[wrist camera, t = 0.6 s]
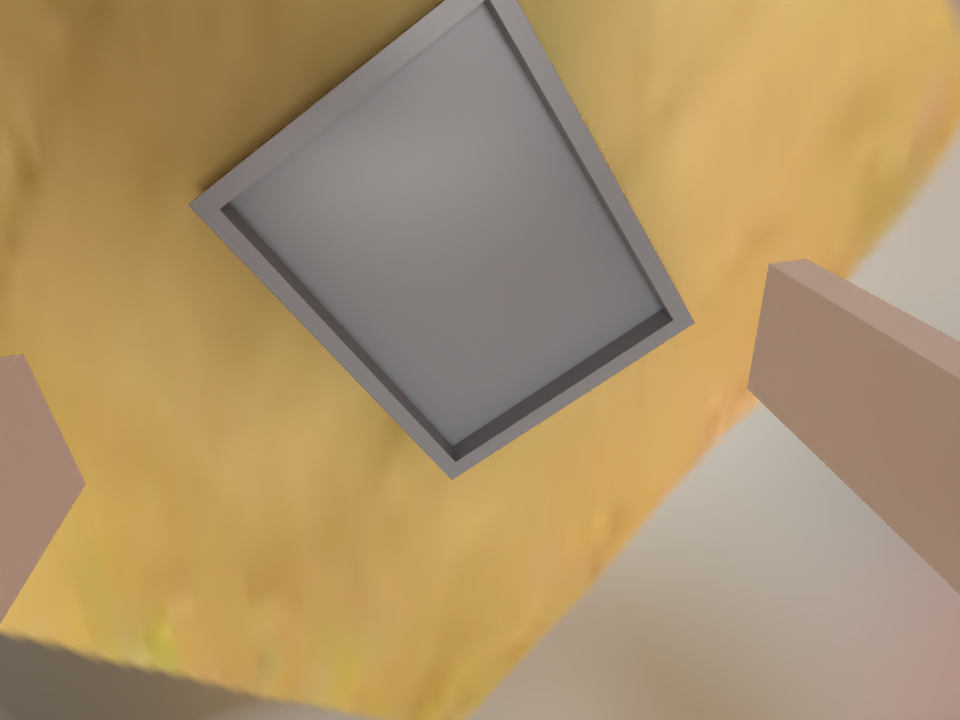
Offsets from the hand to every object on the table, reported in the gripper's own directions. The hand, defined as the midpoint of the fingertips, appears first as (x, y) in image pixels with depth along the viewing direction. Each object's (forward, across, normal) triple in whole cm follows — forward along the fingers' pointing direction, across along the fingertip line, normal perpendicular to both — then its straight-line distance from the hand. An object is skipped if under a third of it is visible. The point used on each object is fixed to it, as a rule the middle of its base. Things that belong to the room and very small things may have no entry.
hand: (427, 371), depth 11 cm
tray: (+24, +3, -6) cm, 25 cm away
